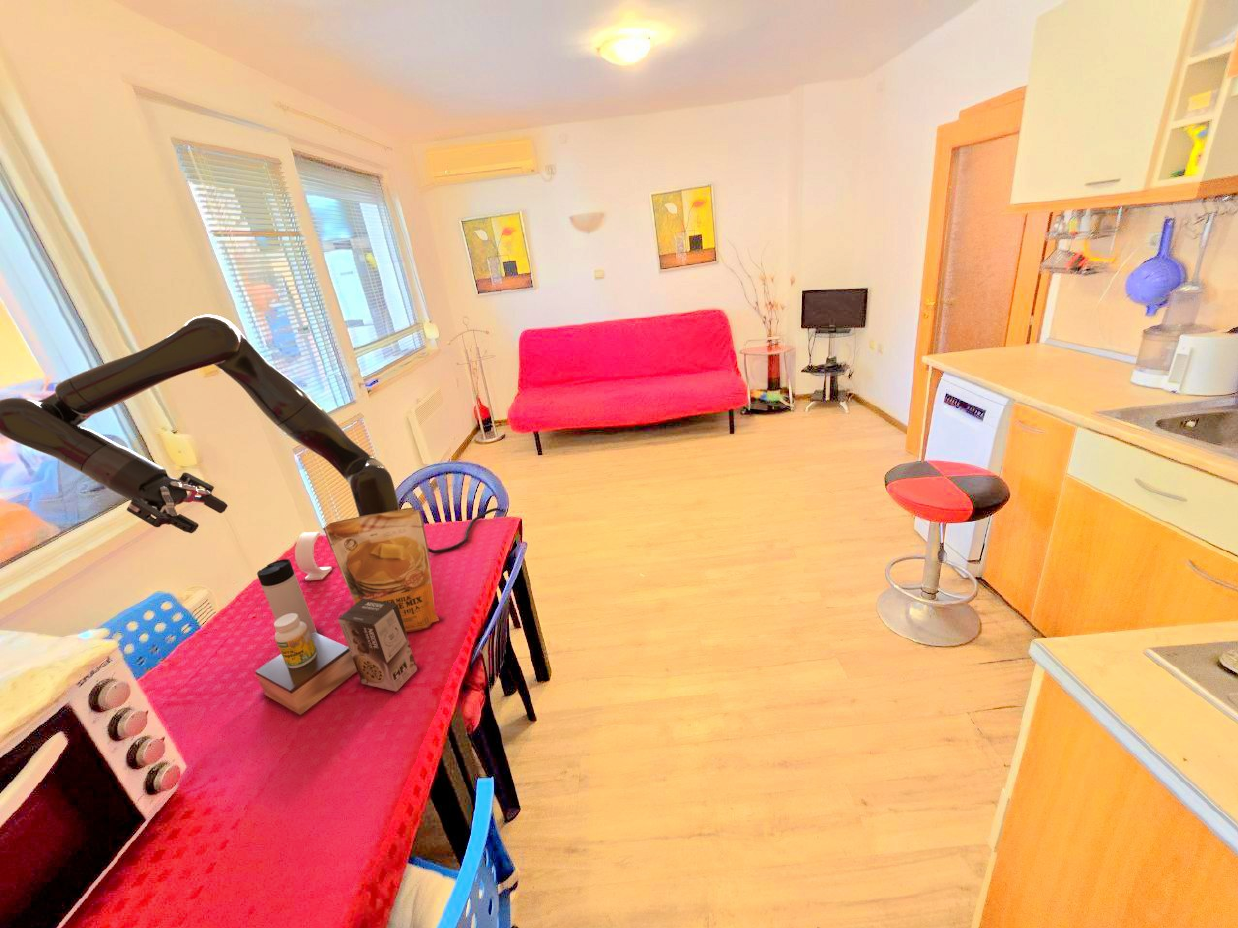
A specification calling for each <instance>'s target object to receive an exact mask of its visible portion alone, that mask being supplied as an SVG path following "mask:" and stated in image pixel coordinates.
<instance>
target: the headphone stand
mask: <svg viewBox="0 0 1238 928" xmlns="http://www.w3.org/2000/svg"><path fill="white" fill-rule="evenodd" d="M320 536H321V533H320V531H311V532H302V533H301V534H300V536H299V537H298V539H297V541H296V543H295V548H294V559H295V563H296V566H297V567H298V569H299V570H300V572H302V573H303V574H307V575H306V576H305V577H304V579H305V581H319V580H323V579H324V578H325V577H326V576H327V575H328V574H329V573H331V572H332V570H333V568H332V566H318V565H317V562H316V560H315V554H314V550H315V544H316V542H317V540H318V538H319V537H320Z"/></svg>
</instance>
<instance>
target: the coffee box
mask: <svg viewBox="0 0 1238 928" xmlns="http://www.w3.org/2000/svg"><path fill="white" fill-rule="evenodd" d="M337 620H338V622H339V623H338V624H339V625H340V629H341V631H342V634H343V636H344V639H345V642H346V644H347V645H346V646H347V647H349V650H350V653H351V655H352V658H353V661H354V664H355V666H356V669H357V672H356V673H357V675H358V677H359V680H360V683H361V685H366V686H370V687H375V688H379V689H383V690H386V691H387V690H388V691H391V692H392V691H393V692H395V693H396V692H398V691H399V690H400V689H401V688H402V687H403V686H404V684H406V683H407V681H408V680H409V679H410V678H411V677H412V676H413V675H414V674H415V673H416V672H418V667H417V665H416V664H417V663H416V661H415V657H414V655H413V651H412V647H411V644H410V640H409V637H408V634H407V632H406V630H405V627H404V624H403V620H402V617H401V613H400V610H399V607H398V604H396V603H389V602H383V601H376V600H370V599H361V600H360V601H359V602H357V603H356V604H355V603H354V604H353V605H352V606H351V607H350V608H349V609H348V610H346V611H345V612H344V613H343V614H341V615H340V616H339V617H338V618H337Z"/></svg>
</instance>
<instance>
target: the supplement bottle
mask: <svg viewBox="0 0 1238 928" xmlns="http://www.w3.org/2000/svg"><path fill="white" fill-rule="evenodd" d="M273 628H274V630H275V631H276V632H275V634H274V640H275V644H276V645H277V647H278V650H279V652H280V654H281V655H282V657H283V659H284V661H285V664H286V665H287V667H289V668H299V667H302V666H304V665H306V664H308V663H309V662H311V661H312V660H313V659H314V658H315V656H316V654H317V651H316V648H315V645H314V643H313V640H312V638H311V635H310V633H309V630H308V628H307V625H306V624H305V623H304V622H302V621H300V619H299V617H298V615H297V614H295V613H290V614H286V615H284V616H282V617H280V618H278V619H277V620H274V623H273Z"/></svg>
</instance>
